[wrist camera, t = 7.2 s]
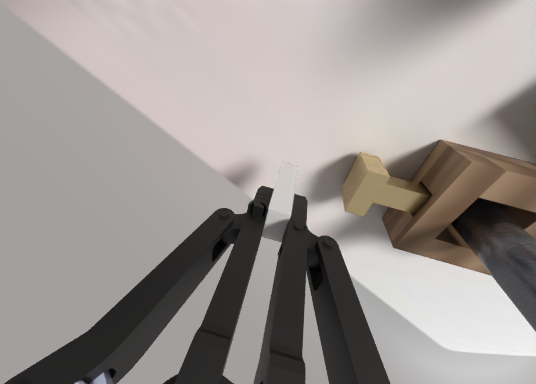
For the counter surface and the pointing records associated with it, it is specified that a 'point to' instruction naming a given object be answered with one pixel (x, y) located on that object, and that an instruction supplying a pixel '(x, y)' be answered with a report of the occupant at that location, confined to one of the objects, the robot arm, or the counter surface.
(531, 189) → the socket block
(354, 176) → the tan t-shaped block
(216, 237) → the robot arm
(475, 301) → the counter surface
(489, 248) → the dark grey peg
